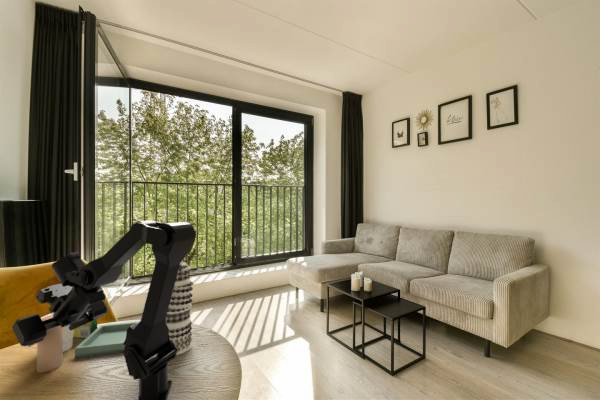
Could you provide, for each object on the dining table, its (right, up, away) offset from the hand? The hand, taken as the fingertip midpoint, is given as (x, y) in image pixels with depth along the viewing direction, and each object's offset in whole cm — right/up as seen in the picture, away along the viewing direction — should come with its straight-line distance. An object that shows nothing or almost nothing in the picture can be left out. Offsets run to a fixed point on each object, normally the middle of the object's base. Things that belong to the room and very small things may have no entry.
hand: (50, 336), depth 72 cm
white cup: (-5, -8, +8) cm, 13 cm away
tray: (+9, -8, +13) cm, 17 cm away
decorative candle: (+30, -8, +9) cm, 32 cm away
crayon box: (-4, -8, +17) cm, 19 cm away
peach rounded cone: (0, -8, 0) cm, 8 cm away
